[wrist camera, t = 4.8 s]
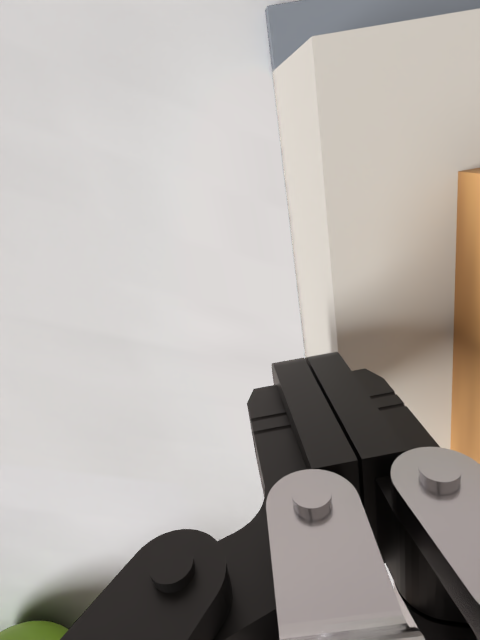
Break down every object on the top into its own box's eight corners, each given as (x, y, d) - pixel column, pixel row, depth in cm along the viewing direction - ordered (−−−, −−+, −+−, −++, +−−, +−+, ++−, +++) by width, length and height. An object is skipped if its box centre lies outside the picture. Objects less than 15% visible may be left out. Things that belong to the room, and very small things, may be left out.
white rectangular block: (317, 459, 18) (355, 554, 14) (272, 71, 13) (311, 36, 8) (552, 412, 18) (658, 490, 14) (605, 15, 13) (800, -45, 9)
